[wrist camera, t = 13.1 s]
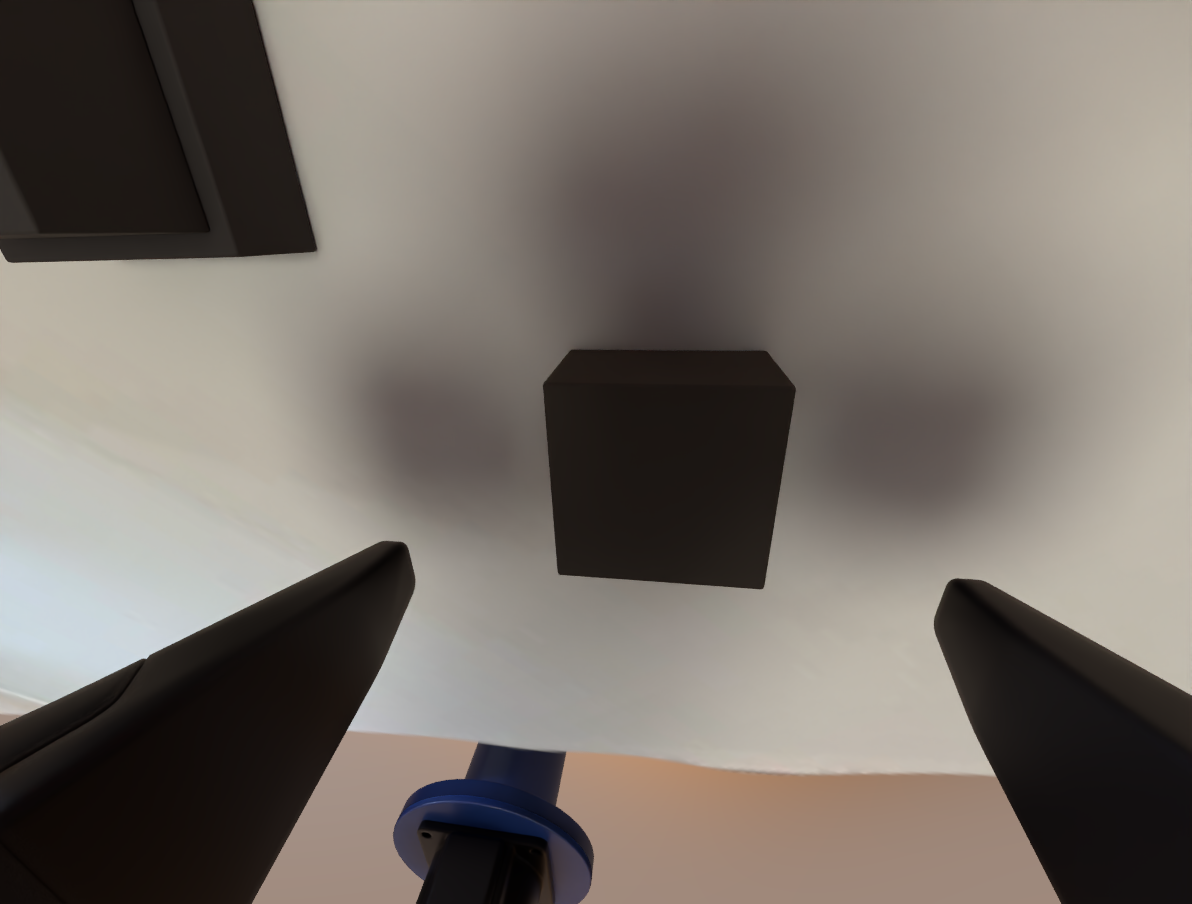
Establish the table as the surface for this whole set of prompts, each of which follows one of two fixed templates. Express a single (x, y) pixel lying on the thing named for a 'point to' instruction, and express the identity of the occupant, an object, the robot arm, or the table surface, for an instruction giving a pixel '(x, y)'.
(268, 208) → the base pad
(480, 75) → the table surface
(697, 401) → the top pad
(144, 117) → the middle pad
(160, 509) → the table surface
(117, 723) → the robot arm
